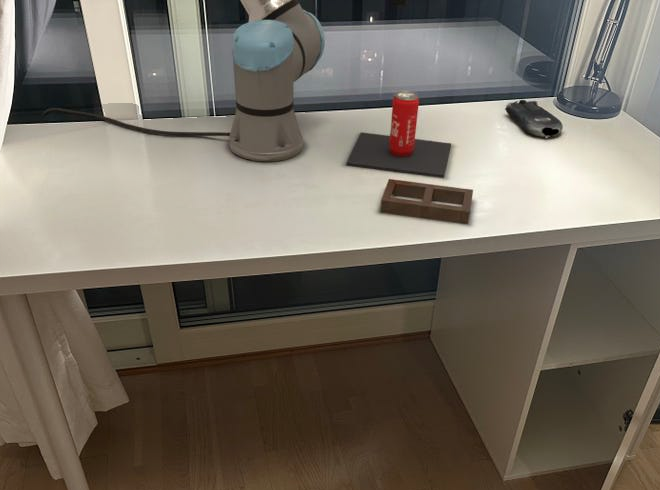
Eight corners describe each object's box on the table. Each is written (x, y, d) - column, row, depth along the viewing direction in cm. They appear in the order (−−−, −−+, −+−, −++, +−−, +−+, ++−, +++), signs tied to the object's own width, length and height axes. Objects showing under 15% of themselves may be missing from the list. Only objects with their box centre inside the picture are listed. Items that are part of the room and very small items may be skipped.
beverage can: (411, 159, 145) (417, 101, 138) (386, 156, 146) (391, 98, 138) (414, 149, 149) (421, 92, 142) (390, 146, 150) (395, 89, 142)
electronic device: (499, 122, 168) (533, 138, 156) (504, 97, 165) (539, 112, 153) (532, 124, 171) (567, 140, 159) (538, 100, 169) (574, 114, 157)
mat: (346, 165, 143) (346, 162, 143) (360, 134, 155) (360, 132, 155) (443, 177, 141) (444, 175, 140) (450, 146, 153) (451, 143, 152)
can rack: (380, 212, 129) (381, 199, 127) (387, 190, 136) (388, 178, 134) (468, 224, 127) (470, 211, 125) (471, 201, 134) (473, 189, 132)
